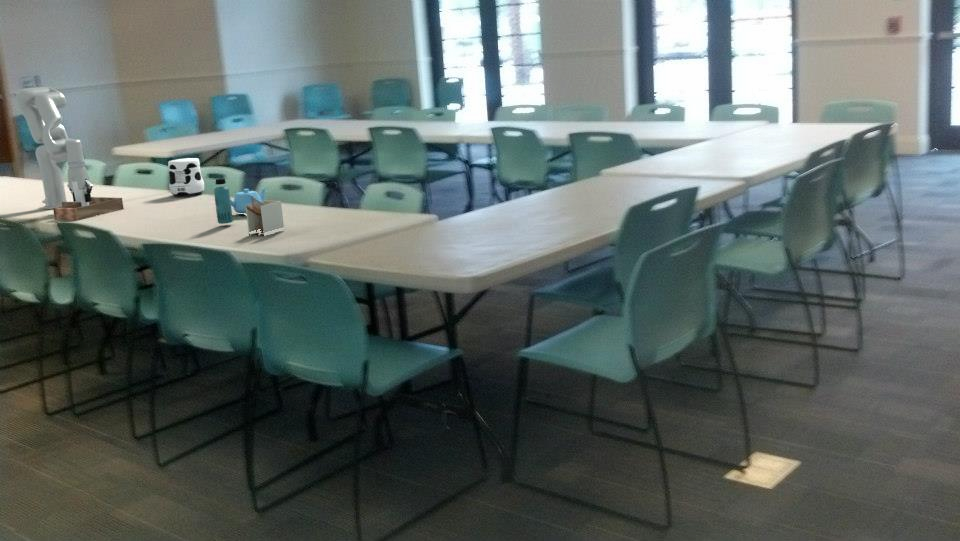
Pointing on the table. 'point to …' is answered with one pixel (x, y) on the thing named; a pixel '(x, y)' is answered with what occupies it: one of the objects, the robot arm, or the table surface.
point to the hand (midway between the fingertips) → (82, 201)
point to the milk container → (185, 177)
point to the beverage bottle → (223, 203)
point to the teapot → (246, 199)
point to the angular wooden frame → (87, 208)
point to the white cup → (79, 194)
